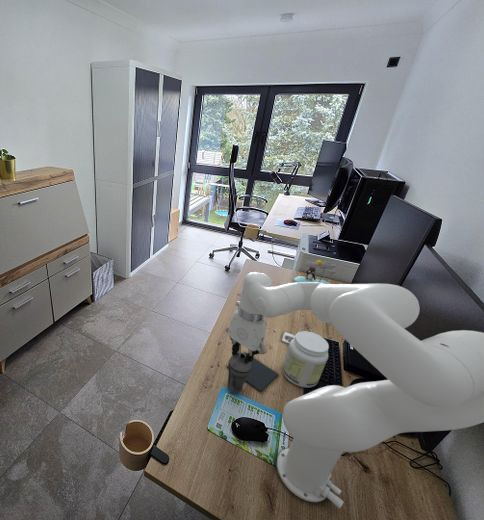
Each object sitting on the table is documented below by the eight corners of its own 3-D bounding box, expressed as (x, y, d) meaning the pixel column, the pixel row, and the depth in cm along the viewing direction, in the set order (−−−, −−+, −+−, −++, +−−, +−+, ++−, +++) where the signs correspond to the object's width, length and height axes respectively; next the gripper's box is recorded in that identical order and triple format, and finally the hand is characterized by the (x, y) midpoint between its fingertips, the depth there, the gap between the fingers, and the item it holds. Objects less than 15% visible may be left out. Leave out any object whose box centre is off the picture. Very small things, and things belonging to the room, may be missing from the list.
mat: (277, 375, 107) (278, 374, 107) (260, 392, 101) (260, 391, 100) (244, 353, 117) (245, 352, 117) (226, 367, 110) (227, 366, 110)
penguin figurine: (292, 285, 164) (300, 261, 157) (293, 276, 173) (300, 254, 166) (333, 294, 156) (343, 270, 149) (332, 285, 164) (341, 261, 158)
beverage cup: (246, 399, 98) (258, 355, 89) (224, 395, 99) (233, 351, 90) (243, 381, 104) (254, 339, 95) (223, 378, 105) (231, 336, 96)
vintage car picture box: (322, 346, 121) (326, 338, 119) (321, 356, 116) (325, 347, 114) (284, 332, 128) (286, 324, 126) (281, 341, 123) (284, 333, 121)
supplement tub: (312, 366, 111) (326, 332, 103) (321, 393, 101) (337, 357, 93) (278, 359, 114) (289, 326, 106) (283, 384, 103) (296, 349, 96)
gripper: (220, 303, 90) (213, 348, 99) (271, 331, 79) (258, 379, 87) (234, 295, 95) (226, 338, 103) (284, 320, 83) (271, 367, 91)
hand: (241, 356), depth 95 cm, fingers closed on beverage cup, 4 cm apart
